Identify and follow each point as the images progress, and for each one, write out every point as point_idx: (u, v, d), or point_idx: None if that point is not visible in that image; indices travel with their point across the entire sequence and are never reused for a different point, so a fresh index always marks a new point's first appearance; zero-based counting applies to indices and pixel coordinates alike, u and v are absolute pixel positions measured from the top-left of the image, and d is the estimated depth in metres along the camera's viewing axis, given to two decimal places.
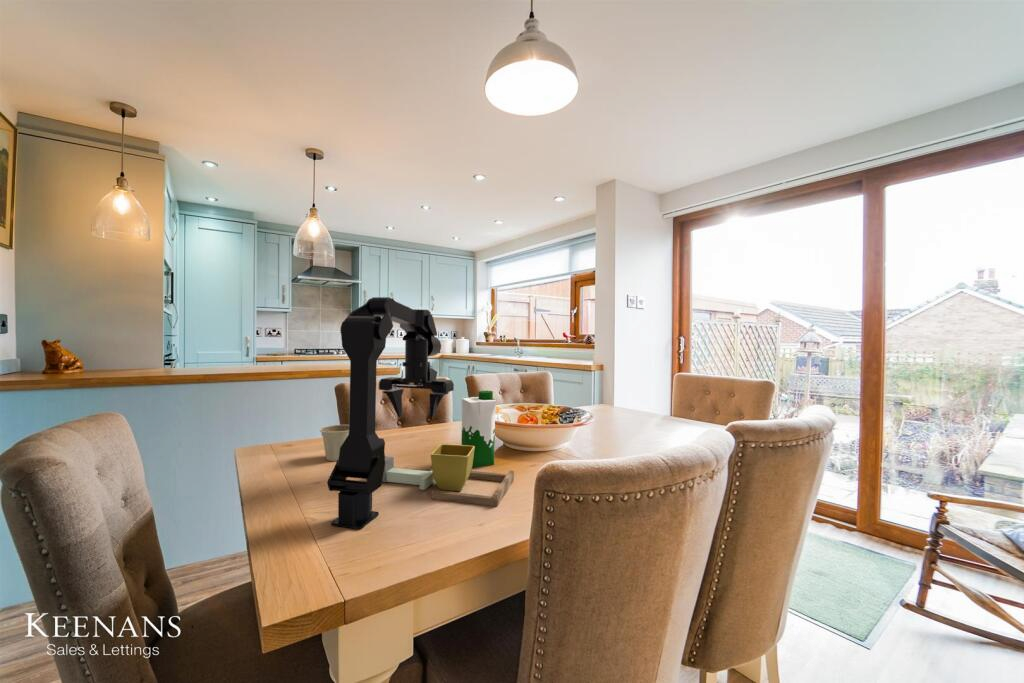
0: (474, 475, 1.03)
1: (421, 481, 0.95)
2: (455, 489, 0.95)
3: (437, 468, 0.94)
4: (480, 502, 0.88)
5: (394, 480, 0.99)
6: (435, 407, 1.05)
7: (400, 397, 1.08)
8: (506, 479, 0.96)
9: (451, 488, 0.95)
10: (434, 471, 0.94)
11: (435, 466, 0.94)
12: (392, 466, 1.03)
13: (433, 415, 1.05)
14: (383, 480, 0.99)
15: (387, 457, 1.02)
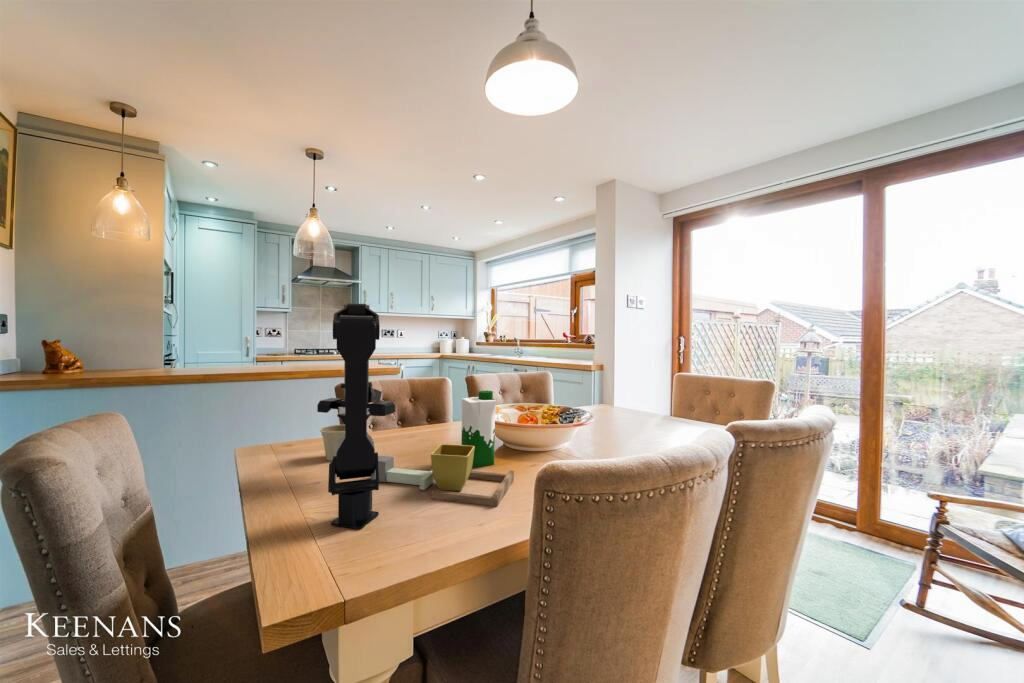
0: (474, 475, 1.03)
1: (421, 481, 0.95)
2: (455, 489, 0.95)
3: (437, 468, 0.94)
4: (480, 502, 0.88)
5: (394, 480, 0.99)
6: None
7: None
8: (506, 479, 0.96)
9: (451, 488, 0.95)
10: (434, 471, 0.94)
11: (435, 466, 0.94)
12: (392, 466, 1.03)
13: None
14: (383, 480, 0.99)
15: (387, 457, 1.02)
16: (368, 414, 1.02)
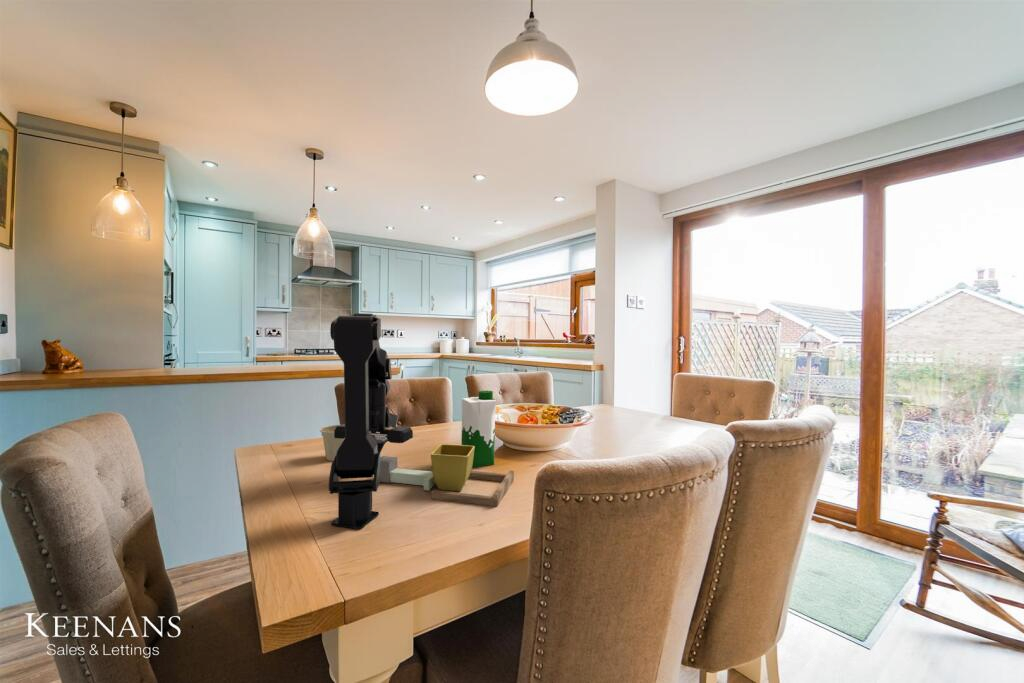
0: (474, 475, 1.03)
1: (425, 481, 0.95)
2: (455, 489, 0.95)
3: (437, 468, 0.94)
4: (480, 502, 0.88)
5: (398, 481, 0.99)
6: None
7: None
8: (506, 479, 0.96)
9: (451, 488, 0.95)
10: (434, 471, 0.94)
11: (435, 466, 0.94)
12: (396, 466, 1.03)
13: None
14: (387, 480, 0.99)
15: (391, 457, 1.02)
16: (385, 440, 1.01)
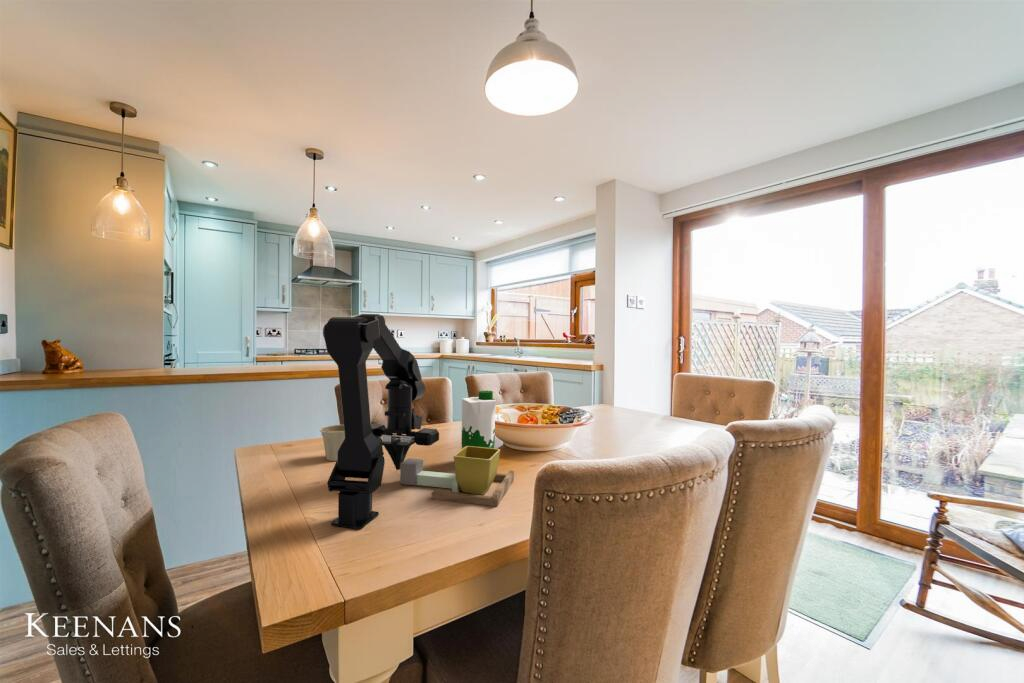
0: None
1: (454, 484, 0.93)
2: (478, 493, 0.93)
3: (459, 470, 0.92)
4: (480, 502, 0.88)
5: (425, 484, 0.97)
6: (402, 457, 1.00)
7: None
8: (506, 479, 0.96)
9: (474, 491, 0.93)
10: (457, 473, 0.92)
11: (458, 468, 0.92)
12: (422, 469, 1.01)
13: None
14: (413, 483, 0.98)
15: (416, 460, 1.01)
16: (411, 442, 0.99)
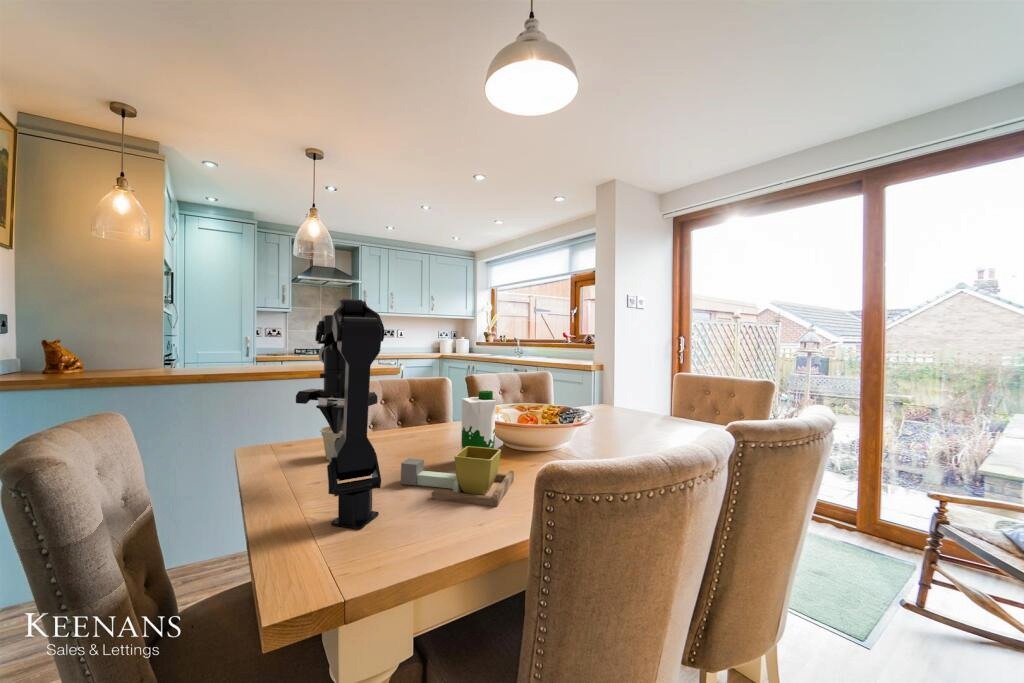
0: None
1: (454, 484, 0.93)
2: (479, 493, 0.93)
3: (460, 470, 0.92)
4: (480, 502, 0.88)
5: (426, 484, 0.97)
6: (339, 421, 0.98)
7: None
8: (506, 479, 0.96)
9: (475, 491, 0.93)
10: (457, 473, 0.92)
11: (458, 468, 0.92)
12: (423, 469, 1.01)
13: (338, 429, 0.98)
14: (414, 483, 0.98)
15: (417, 460, 1.01)
16: None
